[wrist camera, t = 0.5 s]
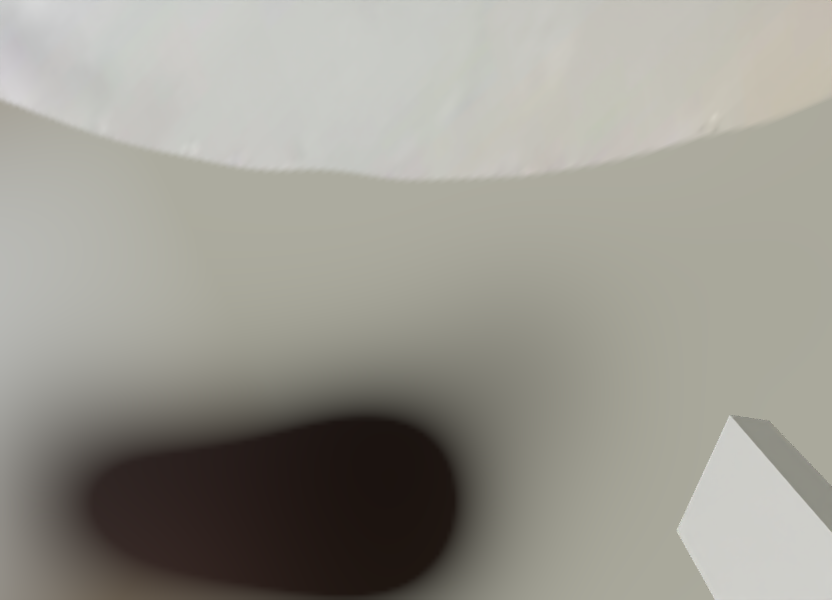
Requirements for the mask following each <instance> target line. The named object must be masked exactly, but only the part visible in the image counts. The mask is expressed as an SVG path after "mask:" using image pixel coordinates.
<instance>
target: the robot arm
mask: <svg viewBox="0 0 832 600" xmlns="http://www.w3.org/2000/svg"><path fill="white" fill-rule="evenodd" d="M677 532H678V534H679V536H680V538H681V540H682V541H683V543H684V545H685V547H686V549H687V550H688V552H689V554H690V556H691V558H692V559H693V561H694V563H695V564H696V567H697V568H698V570H699V572H700V574H701V576H702V577H703V579H704V581H705V583H706V584H707V586H708V588H709V590H710V592H711V593H712V595H713V597H714V599H715V600H832V486H831V485H830V484H829V483H828V482H827V481H826V480H825V479H824V478H823V477H822V475H821V474H820V473H819V472H818V471H817V470H816V469H815V468H814V467H813V466H812V465H811V464H810V463H809V462H808V461H807V460H806V459H805V458H804V457H803V456H802V455H801V454H800V453H799V451H798V450H797V449H796V448H795V447H794V446H793V445H792V444H791V443H790V442H789V441H788V440H787V439H786V438H785V437H784V436H783V435H782V434H781V433H780V432H779V430H778V429H777V428H776V427H774V425H773V424H772V423H771V422H770V421H767V420H761V419H754V418H747V417H740V416H733V415H730V416H729V418H728V420H727V422H726V424H725V426H724V429H723V431H722V433H721V435H720V437H719V440H718V442H717V444H716V446H715V448H714V450H713V453H712V455H711V457H710V459H709V461H708V463H707V466H706V468H705V470H704V472H703V474H702V476H701V479H700V481H699V483H698V485H697V487H696V489H695V492H694V494H693V496H692V498H691V500H690V502H689V505H688V507H687V509H686V511H685V513H684V516H683V518H682V520H681V522H680V524H679V526H678V529H677Z"/></svg>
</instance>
